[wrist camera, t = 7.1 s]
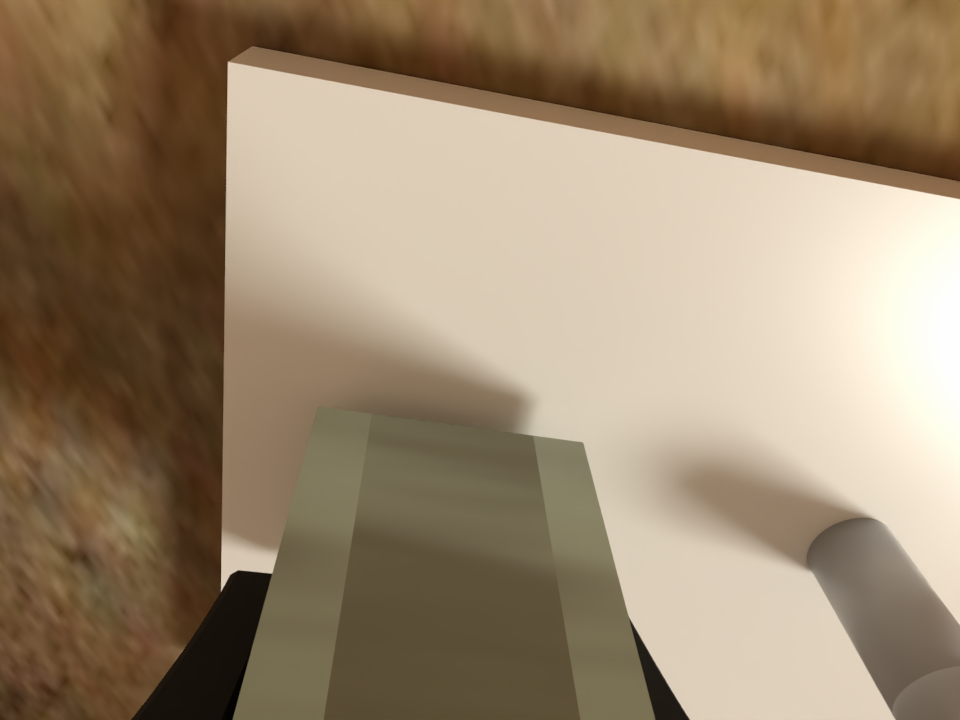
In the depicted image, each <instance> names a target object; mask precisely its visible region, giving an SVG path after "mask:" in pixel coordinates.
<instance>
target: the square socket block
mask: <svg viewBox="0 0 960 720" xmlns="http://www.w3.org/2000/svg"><path fill="white" fill-rule="evenodd" d="M233 720H655V716H654V712H653V709H652V705H651V701H650V697H649V693H648V689H647V686H646V682H645V678H644V674H643V670H642V666H641V663H640V659H639V655H638V651H637V647H636V643H635V639H634V636H633V632H632V628H631V624H630V620H629V616H628V613H627V609H626V605H625V601H624V597H623V593H622V590H621V586H620V582H619V578H618V574H617V570H616V567H615V563H614V559H613V555H612V551H611V547H610V544H609V540H608V536H607V532H606V528H605V524H604V520H603V517H602V513H601V509H600V505H599V501H598V497H597V494H596V490H595V486H594V482H593V478H592V474H591V471H590V467H589V463H588V459H587V455H586V451H585V448H584V444H583V442H577V441H569V440H562V439H555V438H547V437H540V436H533V435H525V434H518V433H511V432H503V431H496V430H489V429H481V428H474V427H467V426H459V425H452V424H445V423H437V422H430V421H422V420H415V419H408V418H400V417H393V416H386V415H378V414H371V413H364V412H356V411H349V410H342V409H334V408H327V407H320V406H318V407H317V411H316V415H315V419H314V422H313V426H312V430H311V433H310V437H309V441H308V444H307V448H306V452H305V455H304V459H303V463H302V466H301V470H300V474H299V477H298V481H297V485H296V488H295V492H294V496H293V499H292V503H291V507H290V510H289V514H288V518H287V521H286V525H285V529H284V532H283V536H282V540H281V543H280V547H279V551H278V554H277V558H276V562H275V565H274V569H273V573H272V577H271V580H270V584H269V588H268V591H267V595H266V599H265V602H264V606H263V610H262V613H261V617H260V621H259V624H258V628H257V632H256V635H255V639H254V643H253V646H252V650H251V654H250V657H249V661H248V665H247V668H246V672H245V676H244V679H243V683H242V687H241V690H240V694H239V698H238V701H237V705H236V709H235V712H234V716H233Z"/></svg>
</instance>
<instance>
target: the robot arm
mask: <svg viewBox="0 0 960 720" xmlns="http://www.w3.org/2000/svg"><path fill="white" fill-rule="evenodd" d="M271 577H272V574H271V573H261V572H251V571H241V570H238V571H236V572H234V573H232V574H231V575H230V576H229V578H228V580H227V582H226V584H225V586H224V587H223V589H222V591H221V593H220V594H219V596H218V598H217V600H216V601H215V603H214V605H213V606H212V608H211V609H210V611H209V613H208V614H207V616H206V617H205V619H204V621H203V622H202V624H201V625H200V627H199V628H198V630H197V631H196V633H195V634H194V636H193V637H192V639H191V640H190V642H189V643H188V644H187V646H186V647H185V649H184V650H183V652H182V653H181V654H180V656H179V657H178V659H177V660H176V661H175V663H174V664H173V665H172V667H171V668H170V670H169V671H168V672H167V674H166V675H165V676H164V678H163V679H162V681H161V682H160V683H159V685H158V686H157V687H156V689H155V690H154V691H153V693H152V694H151V695H150V697H149V698H148V699H147V701H146V702H145V703H144V705H143V706H142V707H141V708H140V710H139V711H138V712H137V713H136V714H135V716H134V717H133V718H132V719H131V720H233V716H234V712H235V709H236V705H237V701H238V698H239V694H240V690H241V687H242V683H243V679H244V676H245V672H246V668H247V665H248V661H249V657H250V654H251V650H252V646H253V643H254V639H255V635H256V632H257V628H258V624H259V621H260V617H261V613H262V610H263V606H264V602H265V599H266V595H267V591H268V588H269V584H270V580H271ZM629 620H630V618H629ZM630 624H631V628H632V632H633V636H634V639H635V643H636V647H637V651H638V655H639V659H640V663H641V666H642V670H643V674H644V678H645V682H646V686H647V689H648V693H649V697H650V701H651V705H652V709H653V712H654V716H655V720H690V719H689V717H688V716H687V714H686V713H685V711H684V710H683V708H682V706H681V705H680V703H679V702H678V700H677V698H676V697H675V695H674V693H673V692H672V690H671V688H670V687H669V685H668V683H667V682H666V680H665V678H664V677H663V675H662V673H661V672H660V670H659V668H658V667H657V665H656V663H655V661H654V660H653V658H652V656H651V655H650V653H649V651H648V649H647V648H646V646H645V644H644V642H643V641H642V639H641V637H640V635H639V634H638V632H637V630H636V628H635V627H634V625H633V623H632V621H631V620H630Z"/></svg>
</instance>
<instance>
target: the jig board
mask: <svg viewBox="0 0 960 720" xmlns="http://www.w3.org/2000/svg"><path fill="white" fill-rule="evenodd" d="M318 406H320V407H327V408H334V409H342V410H349V411H356V412H364V413H371V414H378V415H386V416H393V417H400V418H408V419H415V420H422V421H430V422H437V423H445V424H452V425H459V426H467V427H474V428H481V429H489V430H496V431H503V432H511V433H518V434H525V435H533V436H540V437H547V438H555V439H562V440H569V441H577V442H583V444H584V448H585V451H586V455H587V459H588V463H589V467H590V471H591V474H592V478H593V482H594V486H595V490H596V494H597V497H598V501H599V505H600V509H601V513H602V517H603V520H604V524H605V528H606V532H607V536H608V540H609V544H610V547H611V551H612V555H613V559H614V563H615V567H616V570H617V574H618V578H619V582H620V586H621V590H622V593H623V597H624V601H625V605H626V609H627V613H628V616H629V618H630V620H631V621H632V623H633V625H634V627H635V628H636V630H637V632H638V634H639V635H640V637H641V639H642V641H643V642H644V644H645V646H646V648H647V649H648V651H649V653H650V655H651V656H652V658H653V660H654V661H655V663H656V665H657V667H658V668H659V670H660V672H661V673H662V675H663V677H664V678H665V680H666V682H667V683H668V685H669V687H670V688H671V690H672V692H673V693H674V695H675V697H676V698H677V700H678V702H679V703H680V705H681V706H682V708H683V710H684V711H685V713H686V714H687V716H688V717H689V719H690V720H960V181H955V180H950V179H945V178H939V177H934V176H929V175H924V174H918V173H913V172H908V171H903V170H898V169H892V168H887V167H882V166H877V165H871V164H866V163H861V162H856V161H851V160H845V159H840V158H835V157H830V156H824V155H819V154H814V153H809V152H803V151H798V150H793V149H788V148H783V147H777V146H772V145H767V144H762V143H756V142H751V141H746V140H741V139H736V138H730V137H725V136H720V135H715V134H709V133H704V132H699V131H694V130H689V129H683V128H678V127H673V126H668V125H662V124H657V123H652V122H647V121H641V120H636V119H631V118H626V117H621V116H615V115H610V114H605V113H600V112H594V111H589V110H584V109H579V108H574V107H568V106H563V105H558V104H553V103H547V102H542V101H537V100H532V99H526V98H521V97H516V96H511V95H506V94H500V93H495V92H490V91H485V90H479V89H474V88H469V87H464V86H459V85H453V84H448V83H443V82H438V81H432V80H427V79H422V78H417V77H411V76H406V75H401V74H396V73H391V72H385V71H380V70H375V69H370V68H364V67H359V66H354V65H349V64H344V63H338V62H333V61H328V60H323V59H317V58H312V57H307V56H302V55H296V54H291V53H286V52H281V51H276V50H270V49H265V48H260V47H255V46H252V47H250V48H249V49H247V50H246V51H244V52H242V53H241V54H239V55H238V56H236V57H235V58H233V59H231V60H230V61H228V87H227V165H226V242H225V319H224V397H223V474H222V552H221V591H222V589H223V587H224V586H225V584H226V582H227V580H228V578H229V576H230V575H231V574H232V573H234V572H236V571H238V570H241V571H251V572H261V573H271V574H272V573H273V569H274V565H275V562H276V558H277V554H278V551H279V547H280V543H281V540H282V536H283V532H284V529H285V525H286V521H287V518H288V514H289V510H290V507H291V503H292V499H293V496H294V492H295V488H296V485H297V481H298V477H299V474H300V470H301V466H302V463H303V459H304V455H305V452H306V448H307V444H308V441H309V437H310V433H311V430H312V426H313V422H314V419H315V415H316V411H317V407H318Z"/></svg>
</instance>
